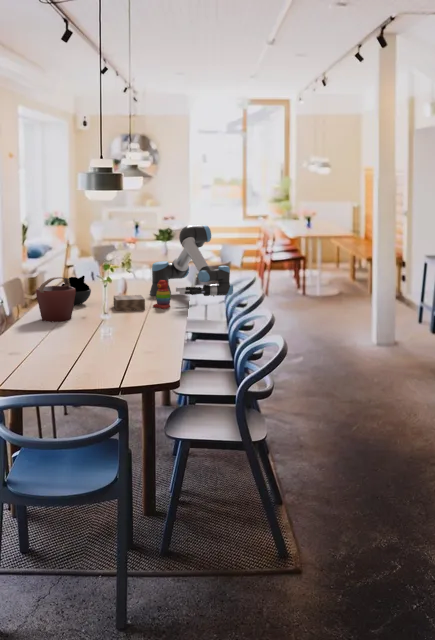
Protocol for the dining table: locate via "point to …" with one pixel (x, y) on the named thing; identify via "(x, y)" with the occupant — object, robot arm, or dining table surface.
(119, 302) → the walnut block
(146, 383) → the dining table surface
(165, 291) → the stacking bear
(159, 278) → the robot arm
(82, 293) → the coal bowl
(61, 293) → the bucket
